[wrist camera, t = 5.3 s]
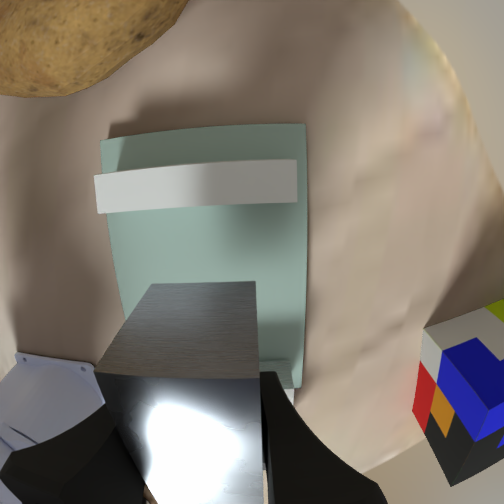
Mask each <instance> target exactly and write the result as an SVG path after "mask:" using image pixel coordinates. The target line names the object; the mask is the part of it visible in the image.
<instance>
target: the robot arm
mask: <svg viewBox="0 0 504 504" xmlns="http://www.w3.org/2000/svg"><path fill="white" fill-rule="evenodd" d="M15 359H16V361H17V364H16V365H15V366H14V367H13V368H12V369H11V370H10V371H9V373H8V374H7V375H6V376H5V377H4V378H3V379H2V381H1V382H0V504H142V498H143V491H144V485H145V481H144V479H143V477H142V476H141V474H140V472H139V470H138V468H137V467H136V465H135V463H134V461H133V459H132V457H131V455H130V454H129V452H128V450H127V448H126V446H125V444H124V442H123V440H122V438H121V436H120V434H119V432H118V429H117V427H116V425H115V423H114V421H113V419H112V416H111V414H110V412H109V410H108V407H107V405H106V403H105V400H104V398H103V396H102V393H101V391H100V388H99V386H98V383H97V381H96V378H95V375H94V373H93V371H94V369H95V368H94V366H93V365H92V364H90V363H86V362H78V361H70V360H63V359H56V358H49V357H43V356H37V355H31V354H25V353H20V352H17V353H16V354H15ZM83 367H84V368H85V369H84V368H83ZM260 402H261V433H262V447H263V454H264V460H265V467H266V473H267V482H268V504H388V503H387V500H386V498H385V496H384V494H383V492H382V491H381V489H380V487H379V486H378V484H377V483H376V482H374V481H372V480H370V479H369V478H367V477H365V476H364V475H362V474H361V473H359V472H357V471H356V470H355V469H353V468H352V467H350V466H349V465H348V464H346V463H345V462H344V461H343V460H341V459H340V458H339V457H338V456H337V455H335V454H334V453H333V452H332V451H331V450H330V449H328V448H327V447H326V446H325V445H324V444H323V443H322V442H321V441H320V440H319V439H318V437H317V436H316V435H315V434H314V433H313V432H312V431H311V430H310V428H309V427H308V426H307V425H306V423H305V422H304V421H303V419H302V418H301V417H300V415H299V414H298V412H297V411H296V410H295V408H294V406H293V405H292V403H291V402H290V400H289V398H288V396H287V395H286V393H285V391H284V389H283V387H282V385H281V383H280V380H279V378H278V375H277V373H276V372H275V371H262V372H260Z"/></svg>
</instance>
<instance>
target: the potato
mask: <svg viewBox="0 0 504 504" xmlns="http://www.w3.org/2000/svg"><path fill="white" fill-rule="evenodd" d="M188 1H189V0H0V94H1V95H10V96H17V97H24V98H29V97H51V96H67V95H69V94H72V93H75V92H77V91H80V90H83V89H86V88H88V87H90V86H92V85H94V84H96V83H98V82H100V81H102V80H104V79H106V78H108V77H109V76H110V75H111V74H113V73H114V72H115V71H116V70H118V69H119V68H120V67H121V66H122V65H124V64H125V63H126V62H128V61H129V60H130V59H131V58H133V57H134V56H136V55H137V54H138V53H140V52H141V51H143V50H144V49H146V48H147V47H149V46H150V45H152V44H153V43H154V42H155V41H156V40H157V39H158V38H159V37H161V36H162V35H163V34H164V33H165V32H166V31H167V30H169V29H170V28H171V27H172V26H173V25H174V24H175V23H176V21H177V19H178V17H179V16H180V14H181V12H182V11H183V9H184V7H185V6H186V4H187V2H188Z"/></svg>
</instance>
